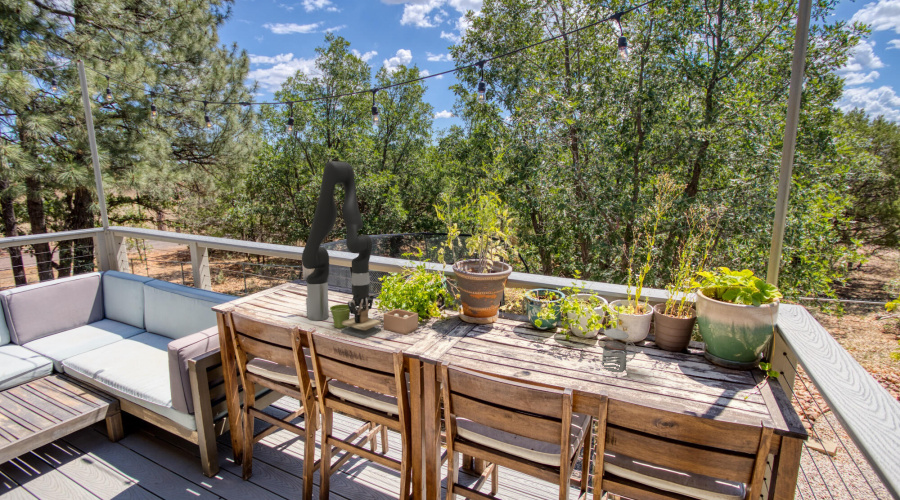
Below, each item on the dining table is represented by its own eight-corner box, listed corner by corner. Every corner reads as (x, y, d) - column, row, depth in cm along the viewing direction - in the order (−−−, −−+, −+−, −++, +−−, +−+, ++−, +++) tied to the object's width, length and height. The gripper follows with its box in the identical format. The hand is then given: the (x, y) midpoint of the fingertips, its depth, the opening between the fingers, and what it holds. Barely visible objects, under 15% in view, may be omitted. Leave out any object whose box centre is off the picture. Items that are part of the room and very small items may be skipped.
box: (383, 329, 183) (383, 313, 182) (396, 323, 191) (396, 308, 190) (405, 334, 177) (405, 319, 176) (417, 328, 185) (417, 313, 184)
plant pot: (339, 331, 180) (339, 312, 178) (326, 326, 185) (325, 307, 184) (356, 325, 187) (356, 307, 186) (343, 321, 193) (342, 303, 191)
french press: (604, 362, 154) (609, 296, 150) (637, 372, 147) (644, 303, 142) (594, 371, 146) (599, 302, 142) (628, 382, 139) (635, 309, 135)
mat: (341, 332, 179) (341, 330, 179) (359, 325, 188) (359, 322, 188) (363, 338, 172) (363, 336, 172) (381, 330, 181) (381, 328, 181)
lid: (342, 324, 179) (341, 310, 177) (358, 318, 187) (358, 304, 186) (364, 330, 172) (364, 315, 171) (380, 323, 180) (380, 309, 179)
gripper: (365, 278, 184) (366, 315, 187) (341, 284, 172) (342, 324, 175) (378, 280, 180) (379, 318, 183) (355, 287, 168) (356, 327, 171)
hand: (361, 321), depth 179 cm, fingers closed on lid, 4 cm apart
